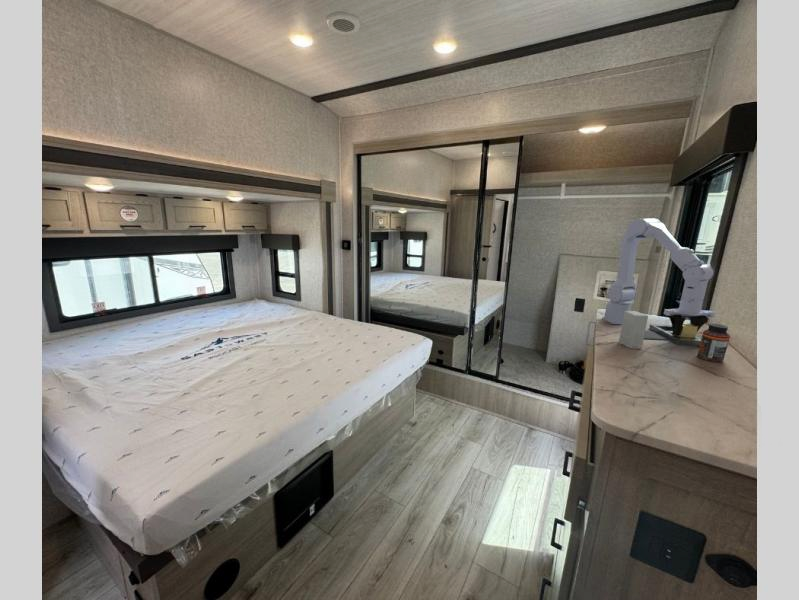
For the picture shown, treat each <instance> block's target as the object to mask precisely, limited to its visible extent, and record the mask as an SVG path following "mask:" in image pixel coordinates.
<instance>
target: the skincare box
mask: <svg viewBox="0 0 799 600" xmlns="http://www.w3.org/2000/svg"><path fill="white" fill-rule="evenodd" d="M648 318H649V315H647V314H645V313H641V312H639V311H635V310H630V311H624V316H623V322H622V324H621V328H620V334H619V338H618V343H619V344H622V345H623V346H625V347H626V348H629V349H633V350H634V349H638V350H639V349H641V350H642V349H643V344H644V341H645V339H644V335H645V331H647V323H648Z"/></svg>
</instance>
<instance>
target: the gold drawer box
mask: <svg viewBox="0 0 799 600" xmlns="http://www.w3.org/2000/svg"><path fill="white" fill-rule="evenodd" d="M697 329H698V326H695V325H693V324H691V323H690V322H685V321H684V323H683V325H682V327H681V330H680V334H679V335H675V334H673V332H672V334H673V335H675V336H676V337H678V338H684V339H695V337H697V333H698V332H697Z"/></svg>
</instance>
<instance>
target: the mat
mask: <svg viewBox="0 0 799 600" xmlns="http://www.w3.org/2000/svg"><path fill="white" fill-rule="evenodd" d="M644 340H656V341H657V340H659V341H668V339H666V338H665V337H663V336H661V335H659V334H657V333H655V332H654V331H652V330H645V335H644Z"/></svg>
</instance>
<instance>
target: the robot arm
mask: <svg viewBox="0 0 799 600" xmlns="http://www.w3.org/2000/svg"><path fill="white" fill-rule="evenodd" d="M645 238H652V239H653V238H654V239H656V241H658V242H659V243H660V244H661V245H662V246H663V247H664V248H665V249H666V250H667V251H669V252H670V256H669V258H670V259H671V261H673V263H674V264H675V265H676V266H677V267H678V268H679V269H680V270H681V271H682V277H683V279H684V284H683V289H682V293H681V297H680V301H679V307H678V308H668V309H666V308H664V311H663V315H665V316H667V317H668V318H669V321H670V323H671V325H672V328H673V334H675V335H679V334H680V330H681V327H682V325H683V323H684V322H685V321H686V318H684V317H685V316H686V317H689V320H690V321H689V323H691V324H693V325H695V326H698V329H697V333H698V332H699V330H700V329H701V328H702V327H703V326H704V325H706V323H708V321H709V318H714V317H715V314H716V312H715V311H713V310H702V307H703V304H704V300H705V299H704V298H705V295H706V291H707V287H708V282H709V280H711V279H712V277H714V275H715V274H714V273H715V270H714V268H713V267H712V266H711V264H706V263H705V261H704V260H701V259H699V257H698V256H696V254H695V250H694V249H692V248H691V249H690V248H689V247H683V246H681V245H680V244H679V242H678V241H677V240H676V239H675V238H674V236H673V235H672V234H671V233H670V231H669V230H668V229H667V228H666V225H665V223H664V222H661V220H660V219H658V218H655V217H654V218H635V219H634V220H632V221H631V222H629V223H628V224H627V228H626V231H625V232H624V234H623V236H622V237H621V243H620V251H619V259H618V268H617V276H616V280H615V281H614V282H613V283H612V284H611V285H610V290H609V291H608V293H607V296H608V299H609V301H608V302H607V303H606V305H605V306H606V307H605V311H604V316H602V319H603V320H605V321H606V322H607V323H609V324H611V325H622V322H623V316H624V311H631V307H632V303H633V301H634V300H635V299H636V298H637V296H638V292H637V289H636V285H637V284H636V282H635V281H634V275H635V274H634V273H635V265H636V257H637V252H638V251H637V250H638V245H639V243H640V242H641V241H643V239H645Z"/></svg>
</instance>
